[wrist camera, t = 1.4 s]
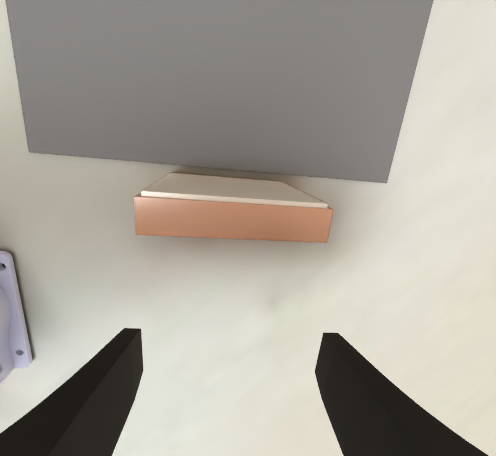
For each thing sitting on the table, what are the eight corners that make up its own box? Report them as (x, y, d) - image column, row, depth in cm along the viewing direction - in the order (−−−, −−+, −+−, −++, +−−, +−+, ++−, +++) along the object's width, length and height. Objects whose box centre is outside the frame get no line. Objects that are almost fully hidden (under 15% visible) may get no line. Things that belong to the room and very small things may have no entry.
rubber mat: (384, 182, 19) (386, 183, 19) (32, 152, 15) (29, 152, 15) (432, -10, 16) (436, -12, 15) (-8, -113, 12) (-13, -120, 11)
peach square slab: (279, 204, 19) (326, 242, 11) (168, 197, 17) (135, 234, 10) (282, 181, 18) (334, 205, 11) (168, 172, 17) (134, 191, 9)
